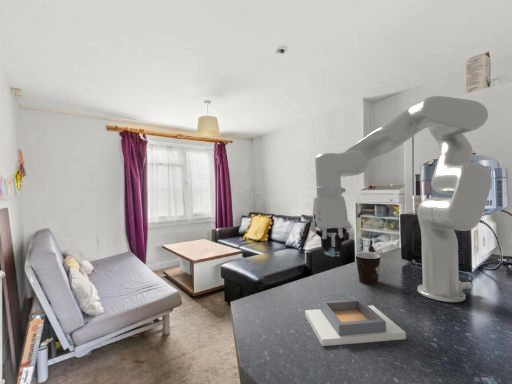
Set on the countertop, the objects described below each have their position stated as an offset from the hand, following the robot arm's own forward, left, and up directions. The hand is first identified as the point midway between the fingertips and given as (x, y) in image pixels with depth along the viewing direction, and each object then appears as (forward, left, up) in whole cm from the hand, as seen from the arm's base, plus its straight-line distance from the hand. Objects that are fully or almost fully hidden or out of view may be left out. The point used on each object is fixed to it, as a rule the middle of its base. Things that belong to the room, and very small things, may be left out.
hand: (331, 249), depth 79 cm
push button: (0, 0, -2) cm, 2 cm away
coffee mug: (-18, -13, -16) cm, 27 cm away
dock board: (+1, +15, -16) cm, 22 cm away
